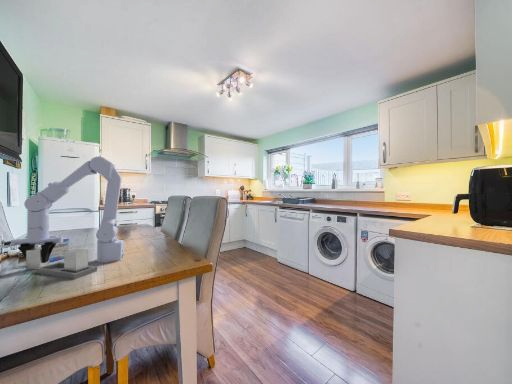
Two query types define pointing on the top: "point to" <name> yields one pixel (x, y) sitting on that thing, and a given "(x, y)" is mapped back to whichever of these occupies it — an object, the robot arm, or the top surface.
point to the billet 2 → (75, 260)
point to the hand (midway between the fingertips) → (37, 262)
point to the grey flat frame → (58, 270)
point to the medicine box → (59, 250)
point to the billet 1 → (35, 258)
